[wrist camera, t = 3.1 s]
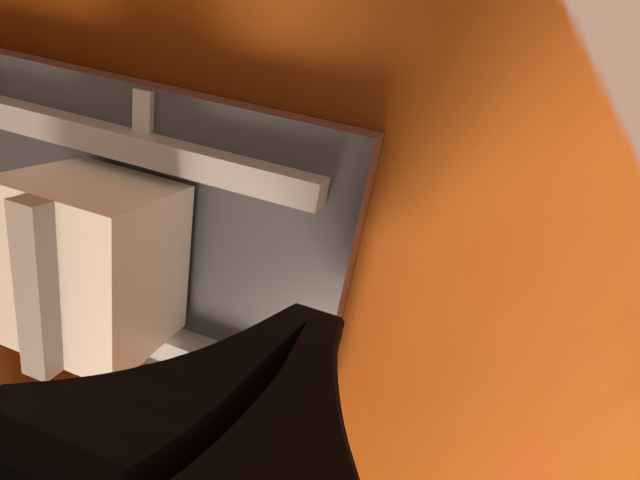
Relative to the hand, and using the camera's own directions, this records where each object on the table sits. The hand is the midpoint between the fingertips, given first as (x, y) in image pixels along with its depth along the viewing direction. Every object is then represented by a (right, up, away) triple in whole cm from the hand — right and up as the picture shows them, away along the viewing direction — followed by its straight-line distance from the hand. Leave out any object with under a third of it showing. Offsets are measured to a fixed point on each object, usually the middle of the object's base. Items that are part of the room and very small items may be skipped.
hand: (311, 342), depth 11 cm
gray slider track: (-11, +5, +6) cm, 13 cm away
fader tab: (-6, +3, +3) cm, 7 cm away
